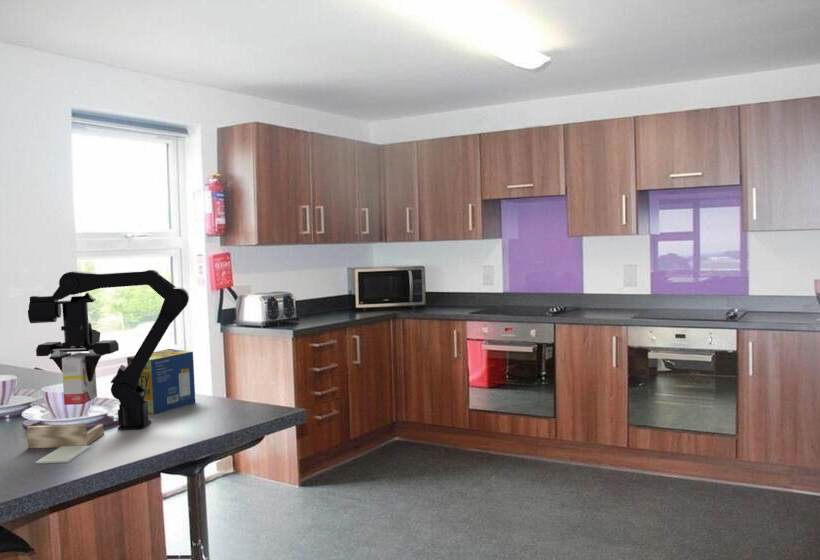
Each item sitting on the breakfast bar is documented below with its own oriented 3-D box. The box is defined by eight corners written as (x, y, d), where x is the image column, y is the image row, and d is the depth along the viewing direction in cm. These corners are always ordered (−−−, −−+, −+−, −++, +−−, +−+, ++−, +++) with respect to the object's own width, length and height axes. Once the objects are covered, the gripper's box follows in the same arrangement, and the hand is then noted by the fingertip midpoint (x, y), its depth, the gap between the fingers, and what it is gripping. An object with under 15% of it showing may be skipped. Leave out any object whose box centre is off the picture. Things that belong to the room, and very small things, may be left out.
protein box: (129, 410, 201) (125, 357, 199) (172, 399, 214) (170, 348, 213) (153, 414, 195) (150, 359, 194) (196, 402, 208) (194, 350, 207)
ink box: (83, 404, 175) (79, 357, 174) (63, 405, 175) (60, 358, 174) (98, 396, 184) (95, 352, 183) (79, 397, 184) (76, 352, 183)
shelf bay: (103, 434, 177) (102, 414, 177) (85, 446, 167) (83, 425, 166) (50, 435, 177) (48, 416, 177) (28, 448, 167) (26, 427, 167)
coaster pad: (90, 447, 166) (90, 445, 166) (67, 462, 155) (67, 460, 155) (61, 448, 166) (61, 446, 166) (36, 463, 155) (35, 461, 155)
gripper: (125, 315, 186) (129, 374, 187) (55, 318, 186) (60, 376, 187) (107, 321, 175) (111, 383, 176) (32, 323, 175) (37, 385, 176)
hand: (80, 381), depth 179 cm, fingers closed on ink box, 5 cm apart
